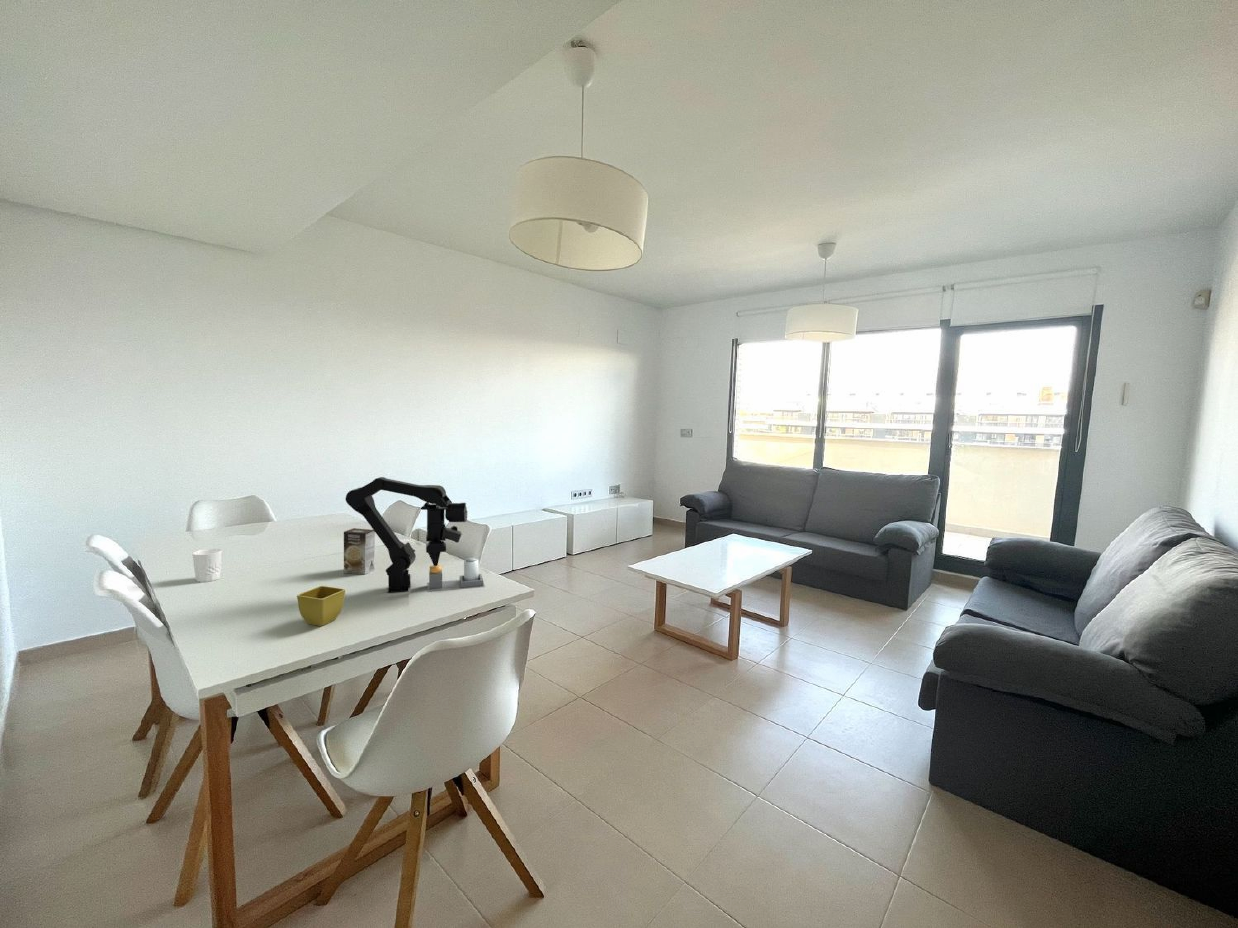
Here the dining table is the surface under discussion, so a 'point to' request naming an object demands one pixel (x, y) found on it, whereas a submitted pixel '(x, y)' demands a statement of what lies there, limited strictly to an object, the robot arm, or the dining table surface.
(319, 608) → the flower pot
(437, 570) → the yellow rounded piece
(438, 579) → the gray holder stand
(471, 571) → the cylinder
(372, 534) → the coffee box
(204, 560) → the white cup
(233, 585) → the dining table surface
